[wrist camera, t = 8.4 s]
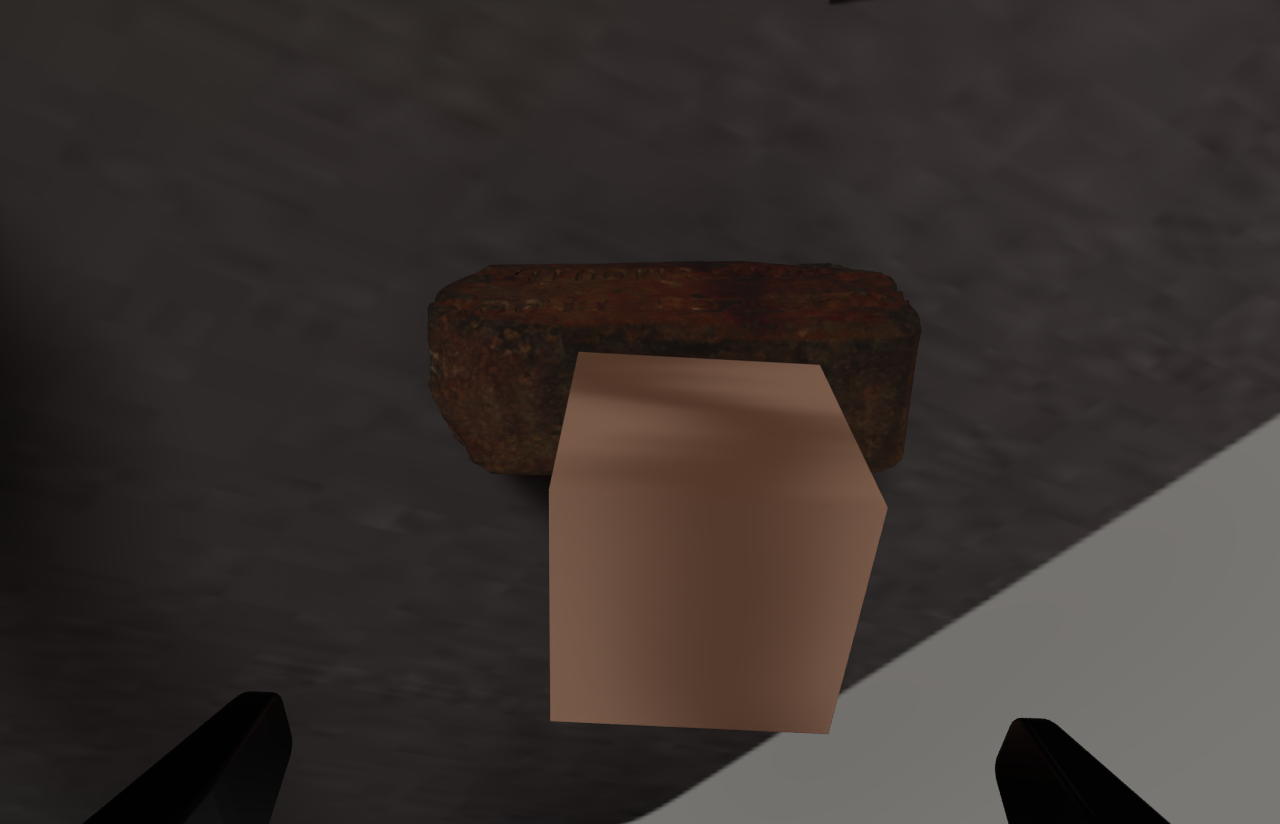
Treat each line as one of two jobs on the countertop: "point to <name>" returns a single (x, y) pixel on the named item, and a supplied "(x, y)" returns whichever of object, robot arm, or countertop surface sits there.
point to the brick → (661, 343)
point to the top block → (705, 545)
